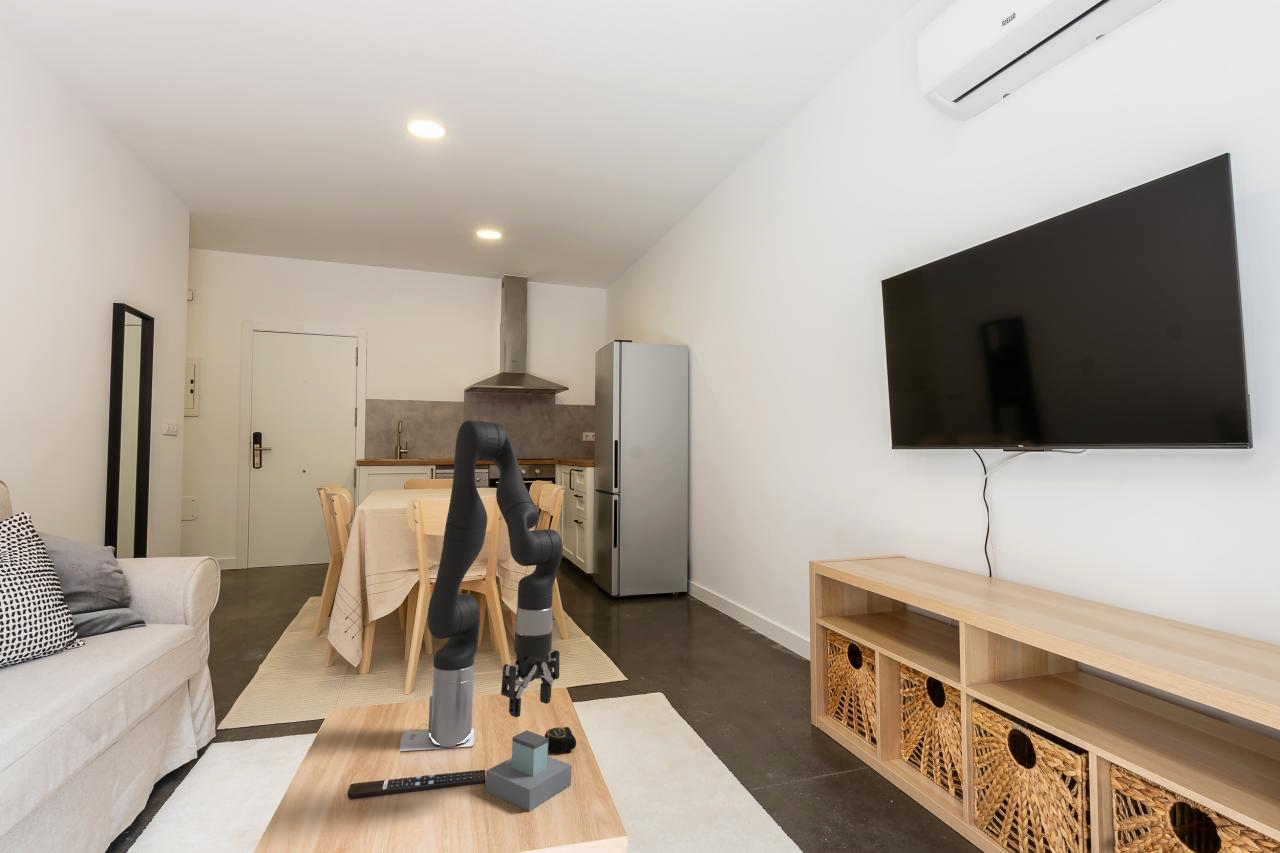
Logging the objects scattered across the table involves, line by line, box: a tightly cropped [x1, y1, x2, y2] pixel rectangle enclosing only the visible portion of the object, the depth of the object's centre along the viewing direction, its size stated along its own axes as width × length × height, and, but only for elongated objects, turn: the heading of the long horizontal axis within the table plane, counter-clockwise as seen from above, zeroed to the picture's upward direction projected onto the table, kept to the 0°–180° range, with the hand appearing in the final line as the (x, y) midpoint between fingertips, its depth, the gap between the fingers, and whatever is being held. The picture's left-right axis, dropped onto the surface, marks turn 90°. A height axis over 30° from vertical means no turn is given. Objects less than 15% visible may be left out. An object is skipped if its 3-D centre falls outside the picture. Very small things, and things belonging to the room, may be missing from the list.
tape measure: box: [544, 726, 577, 753], centre depth 146 cm, size 7×7×4 cm
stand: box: [485, 755, 572, 812], centre depth 128 cm, size 12×12×4 cm
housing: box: [511, 730, 549, 776], centre depth 128 cm, size 6×4×6 cm, turn 55°
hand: (530, 709), depth 128 cm, fingers open, 8 cm apart
